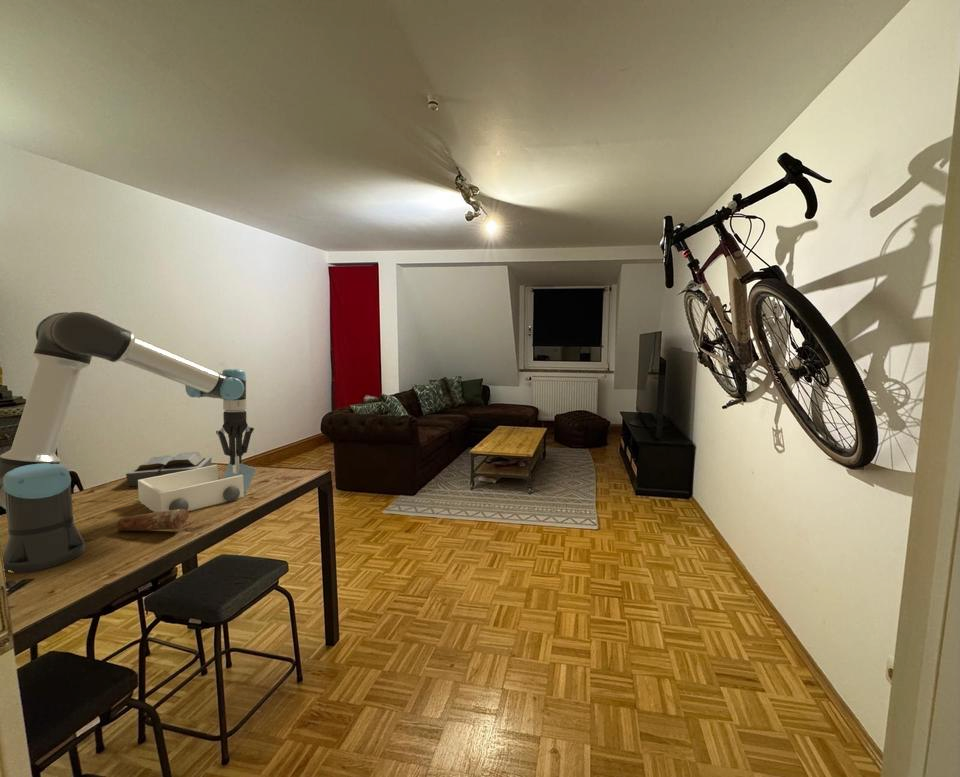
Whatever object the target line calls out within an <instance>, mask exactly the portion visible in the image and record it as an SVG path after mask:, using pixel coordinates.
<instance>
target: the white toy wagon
mask: <svg viewBox="0 0 960 777" xmlns="http://www.w3.org/2000/svg"><path fill="white" fill-rule="evenodd" d="M137 488H138V490H137V491H138V502H139V501H140V502H141V503H142V504H144V505H145V506H146V507H148V508H149V511H152V512H153V513H154V512H162V511H169V510H177V509H187V510H188V512H189V511H190V512H191V511H194V510H198V509H202V508H206V507H210V506H214V505H218V504H223V503H226V502H228V503H229V502H230V503H231V502H235V501H236V500H238V499H241V498H245V494H244V484H243V475H239V476H234V477H230V478H225V479H222V478H220V479H219V466H218V464H214V465H211V466H208V467H202V468H197V469H192V470H187V471H182V472H177V473H171V474H166V475H161V476H156V477H151V478H145V479H140V480H138V487H137ZM141 503H140V504H141ZM142 504H141V505H142ZM145 506H144V507H145ZM146 507H145V508H146ZM148 508H147V509H148Z"/></svg>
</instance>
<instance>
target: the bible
mask: <svg viewBox="0 0 960 777" xmlns="http://www.w3.org/2000/svg"><path fill="white" fill-rule="evenodd" d="M212 460H213V458H212V457H204V456H202V455H201V454H200V452H199V451H188V452H187V451H186V452H185V451H183V452H181V453H179V454H177V455H174V454H169V455H161V456H153V457H151V458H150V460H148V461H145V462H143V463H141V464H140V465H138V466H137V467H134V469H132V470H130V471H128V472H127V473H125V477H126V481H127V485H126V488H129V487H128V486H138V480H140V479H145V478H151V477H156V476H161V475H166V474H171V473H177V472H182V471H187V470H192V469H197V468H202V467H208V466H212Z"/></svg>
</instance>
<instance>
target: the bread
mask: <svg viewBox="0 0 960 777" xmlns="http://www.w3.org/2000/svg"><path fill="white" fill-rule="evenodd" d="M188 518H189V511H188V510H187V509H177V510H169V511H162V512H154V511H153V512H150V513H149V512H148V513H144V514H143V513H142V514H136V515H130V516H124V517H121V518H120V519H119V520H118V521H117V524H116V529H117V531H118V532H128V531H129V532H134V531H135V532H137V531H139V532H140V531H161V530H165V531H167V530H178V529H181V528H182V526H183V525H184V524H185V523H186V521H187V520H188Z"/></svg>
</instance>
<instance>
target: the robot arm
mask: <svg viewBox="0 0 960 777" xmlns="http://www.w3.org/2000/svg"><path fill="white" fill-rule="evenodd" d="M35 340H36V345H35V349H34V352H33V356H34V357H35V358H36V360H37V361H38V365H37V367H36V371H35V374H34V377H33V380H32V383H31V386H30V390H29V392H28V395H27V399H26V402H25V404H24V408H23V410H22V413H21V418H20V420H19V423H18V425H17V426H18V427H17V430H16V433H15V436H14V439H13V442H12V445H11V448H10V449H9V450H7V451H6V452H4V453H2V454H0V507H2V508H3V509H4V510H5V512H6V520H7V529H8V530H7V531H8V538H7V541H6V544H5V546H4V550H3V552H2V555H1V557H2V556H3V563H4V569H5V572H4V573H7V574H9V573H8V570H11V571H13V572H14V573H13V574H26V573H33V572H38V571H43V570H46V569H49V568H53V567H56V566H60V565H63V564H65V563H68V562H70V561H73V560H74V559H76V558H78V557H79V556H81V555H82V554H83V553H84V552H85V550H86V545H85V543H86V542H85V540H84V538H83V536H82V535H81V533H80V531H79V530H78V527H77V526H76V525H75V521H74V512H73V511H74V509H73V498H72V497H73V496H72V487H71V486H72V483H71V482H72V477H71V475H70V471H69V469H68V467H66V466H65V465H63V464H61V463H60V462H61V459H60V458H59V456H57V454H56V451H57V448H58V445H59V441H60V438H61V435H62V431H63V428H64V425H65V422H66V419H67V415H68V412H69V409H70V406H71V403H72V400H73V395H74V393H75V389H76V386H77V383H78V379H79V376H80V374H81V371H82V370H83V369H85V368H87V367H89V366H90V364H91V361H92V358H93V357H94V358H100V359H103V360H107V361H110V362H112V363H117V362H122V363H125V364H127V365H130V366H133V367H136V368H139V369H141V370H143V371H146V372H149V373H152V374H154V375H158V376H160V377H163V378H166V379H168V380H171V381H173V382H175V383H176V382H177V383H179V384H182V385H184V386H185V392H186V394H187V396H188V397H190V398H197V399H199V398H213V399H221V400H222V401H223V403H222V404H223V406H222V410H224V412H222V414H223V418H222V419H223V424H222V427H221V428H220V429H219V430H216V431H215V434H216V435H217V436H218V438H219V441H220V442H219V443H220V446H221V448H222V451H223V454H224V456H229V462H230V464H231V465H233V473H235V474H237V473H239V464H242V462H243V460H242V457H243V455H245V454H247V453H248V449H249V444H250V440H251V436H252V433H253V432H254V430H255V428H254V427H251V426H249V425H248V422H247V411H246V410H247V377H246V372H245V370H244V369H238V368H235V369H234V368H232V369H231V368H229V369H227V368H226V369H223V370H222V373H220V372H217V371H215V370H213V369H211V368H209V367H206V366H205V365H204V366H203V365H201V364H199V363H196V362H195V361H192V360H189V359H187V358H184V357H183V356H180V355H177V354H175V353H173V352H170V351H168V350H166V349H163V348H161V347H158V346H156V345H154V344H151V343H150V342H146V341H144V340H142V339H139V338H137V337H136V336H134V333H133V332H132V331H131V330H129V329H125V328H123V327H121V326H120V325H117V324H115V323H113V322H111V321H110V320H109V321H108V320H107V319H105V318H102V317H100V316H98V315H95V314H92V313H91V312H90V313H89V312H84V311H72V312H69V311H68V312H66V311H65V312H56V313H53V314H51V315H48V316H46V317H45V318H44V319H42V320H41V321H40V322H39V323H38V324H37V326H36V329H35ZM226 434H227V437H228V441H227V438H226Z"/></svg>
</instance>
